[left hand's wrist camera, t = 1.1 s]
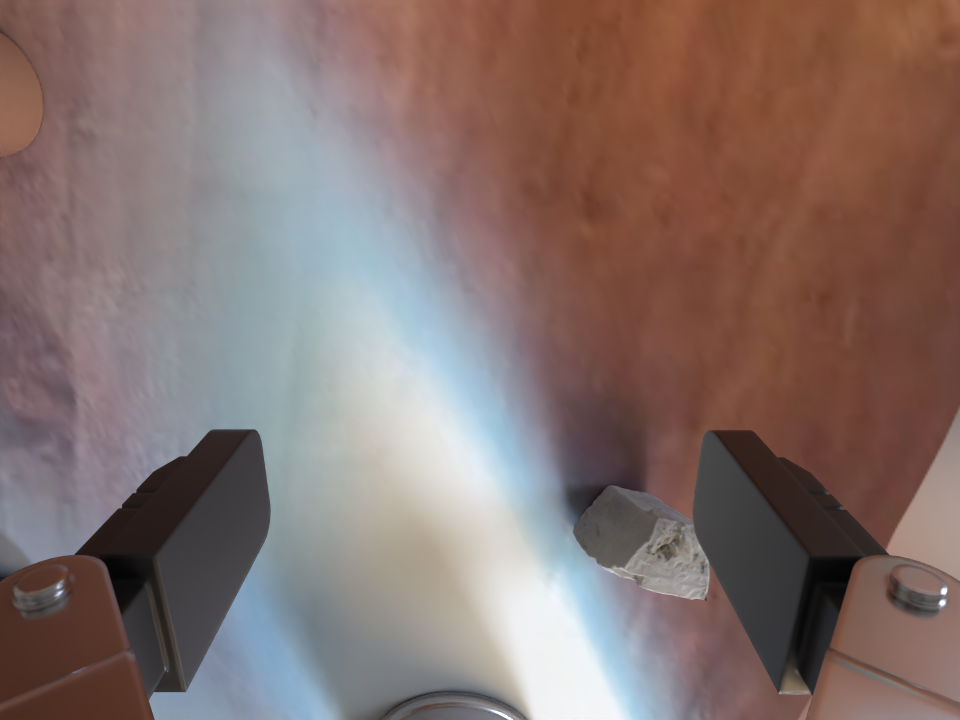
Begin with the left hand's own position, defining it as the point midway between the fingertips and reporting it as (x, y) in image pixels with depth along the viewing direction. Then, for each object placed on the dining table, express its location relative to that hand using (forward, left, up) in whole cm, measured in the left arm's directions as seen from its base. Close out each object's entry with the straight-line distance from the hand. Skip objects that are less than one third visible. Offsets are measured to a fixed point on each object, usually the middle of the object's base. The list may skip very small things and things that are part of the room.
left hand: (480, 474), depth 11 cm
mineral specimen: (+20, +11, -29) cm, 37 cm away
